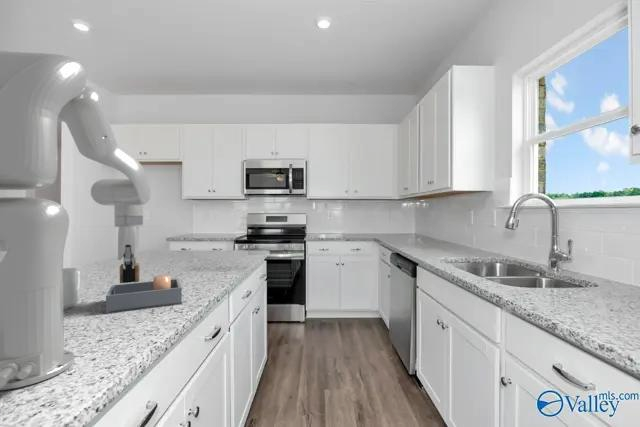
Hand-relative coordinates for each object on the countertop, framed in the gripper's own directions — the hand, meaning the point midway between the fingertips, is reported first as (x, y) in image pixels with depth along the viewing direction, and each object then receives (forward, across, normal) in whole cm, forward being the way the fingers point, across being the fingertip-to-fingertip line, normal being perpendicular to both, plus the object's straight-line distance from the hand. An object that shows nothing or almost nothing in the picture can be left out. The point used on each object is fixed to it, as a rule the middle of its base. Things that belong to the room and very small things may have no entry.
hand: (129, 279), depth 98 cm
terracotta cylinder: (+7, 0, +9) cm, 11 cm away
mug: (+8, -8, -18) cm, 21 cm away
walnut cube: (+1, 0, 0) cm, 1 cm away
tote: (+8, 0, +4) cm, 9 cm away
